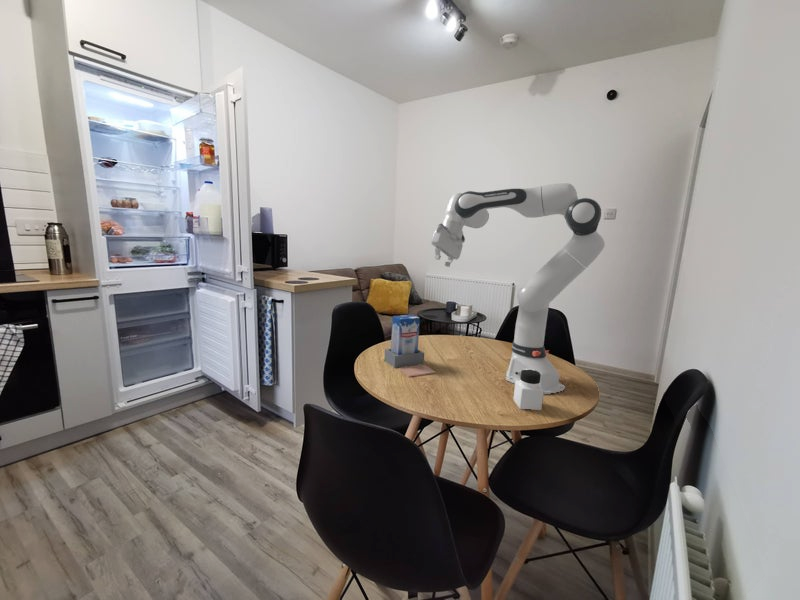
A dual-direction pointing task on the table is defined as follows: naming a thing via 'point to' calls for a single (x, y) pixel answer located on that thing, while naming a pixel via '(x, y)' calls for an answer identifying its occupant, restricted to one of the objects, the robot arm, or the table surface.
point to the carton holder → (404, 359)
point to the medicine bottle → (529, 390)
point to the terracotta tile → (416, 370)
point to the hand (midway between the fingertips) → (442, 262)
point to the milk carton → (405, 334)
